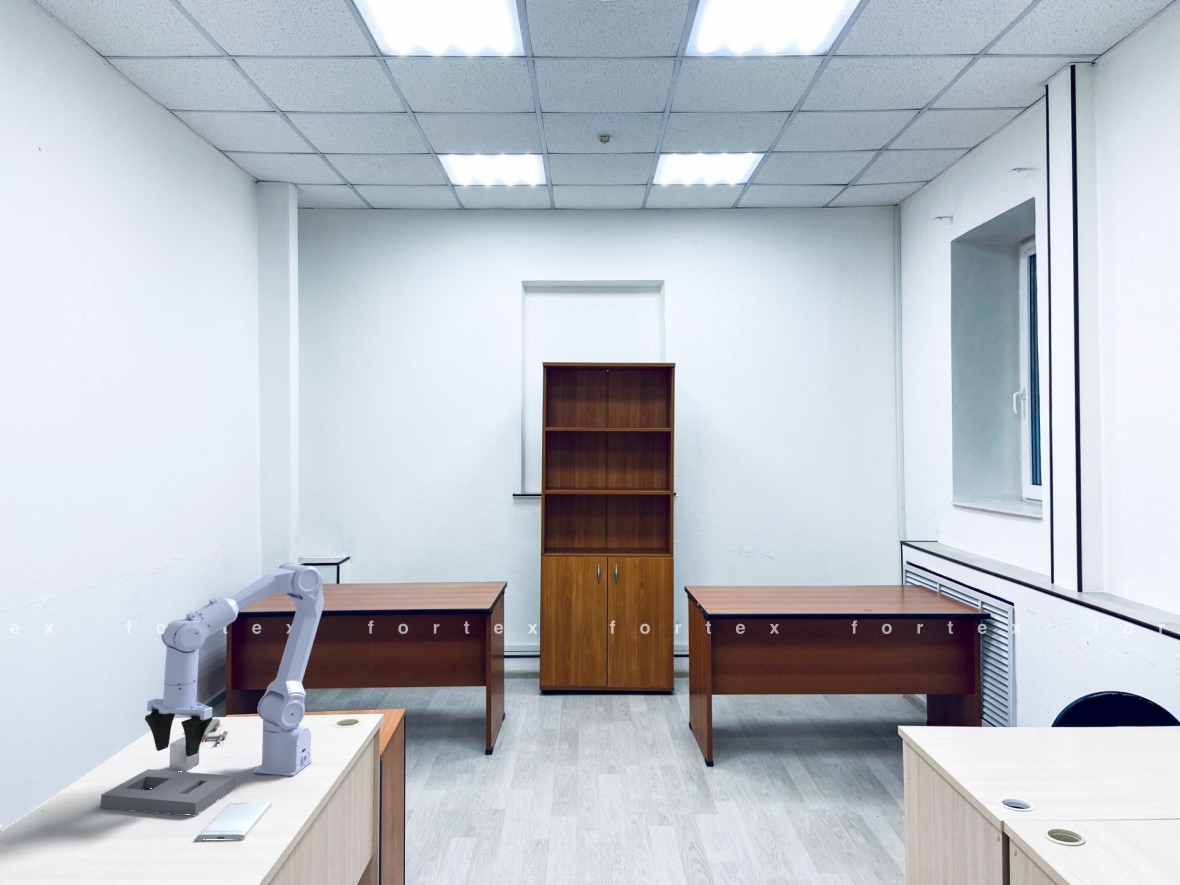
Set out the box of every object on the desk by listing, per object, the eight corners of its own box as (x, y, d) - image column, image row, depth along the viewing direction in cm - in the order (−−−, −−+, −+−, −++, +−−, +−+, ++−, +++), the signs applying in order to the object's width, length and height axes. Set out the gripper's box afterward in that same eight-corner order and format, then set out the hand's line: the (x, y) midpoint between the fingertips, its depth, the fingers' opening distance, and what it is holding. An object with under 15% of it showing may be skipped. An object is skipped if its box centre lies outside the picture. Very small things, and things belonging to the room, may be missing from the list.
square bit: (198, 765, 159) (199, 738, 159) (186, 773, 155) (186, 744, 155) (182, 764, 159) (183, 736, 160) (169, 772, 155) (170, 743, 156)
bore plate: (235, 788, 148) (235, 776, 148) (195, 816, 136) (195, 802, 136) (147, 781, 151) (148, 769, 151) (100, 808, 139) (101, 794, 139)
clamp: (194, 719, 182) (237, 716, 185) (194, 728, 182) (236, 725, 185) (173, 741, 168) (220, 738, 170) (173, 751, 168) (220, 748, 170)
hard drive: (228, 802, 140) (196, 834, 127) (271, 801, 140) (244, 833, 128) (228, 810, 140) (196, 843, 127) (271, 810, 140) (244, 843, 128)
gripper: (135, 682, 141) (130, 753, 140) (192, 691, 137) (188, 764, 136) (166, 673, 148) (162, 741, 147) (222, 681, 143) (218, 751, 143)
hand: (177, 751), depth 142 cm, fingers open, 7 cm apart
